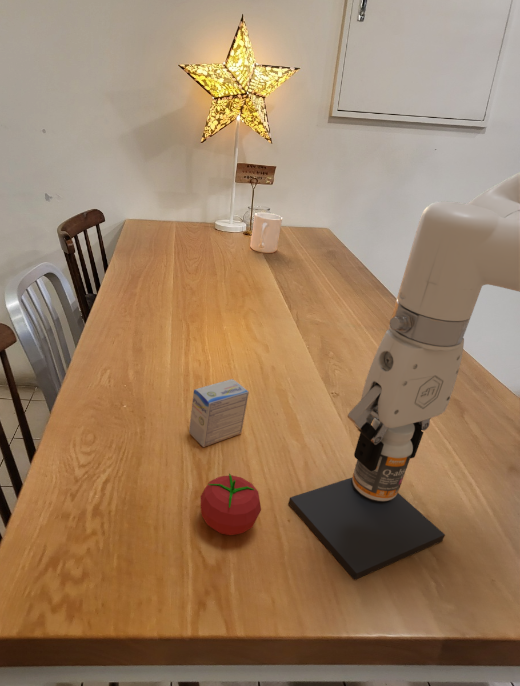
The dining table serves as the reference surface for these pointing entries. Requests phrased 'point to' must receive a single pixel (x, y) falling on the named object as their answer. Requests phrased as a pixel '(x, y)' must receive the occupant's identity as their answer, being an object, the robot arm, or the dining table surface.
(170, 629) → the dining table surface
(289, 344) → the dining table surface
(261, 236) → the mug
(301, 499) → the scale
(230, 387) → the medicine box
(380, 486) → the pill bottle
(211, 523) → the tomato
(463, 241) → the robot arm
